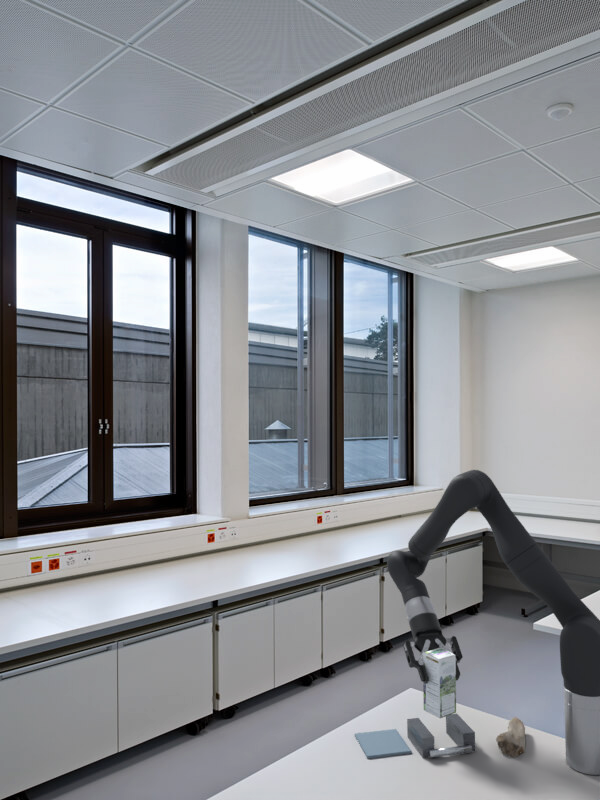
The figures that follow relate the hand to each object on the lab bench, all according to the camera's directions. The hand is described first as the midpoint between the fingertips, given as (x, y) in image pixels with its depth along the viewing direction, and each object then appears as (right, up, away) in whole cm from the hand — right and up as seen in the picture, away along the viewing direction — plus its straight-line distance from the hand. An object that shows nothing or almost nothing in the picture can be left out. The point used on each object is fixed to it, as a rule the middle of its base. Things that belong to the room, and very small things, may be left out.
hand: (441, 680), depth 155 cm
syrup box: (0, -8, +1) cm, 8 cm away
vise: (0, -16, +1) cm, 16 cm away
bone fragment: (+17, -16, +1) cm, 24 cm away
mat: (-14, -16, +1) cm, 22 cm away
